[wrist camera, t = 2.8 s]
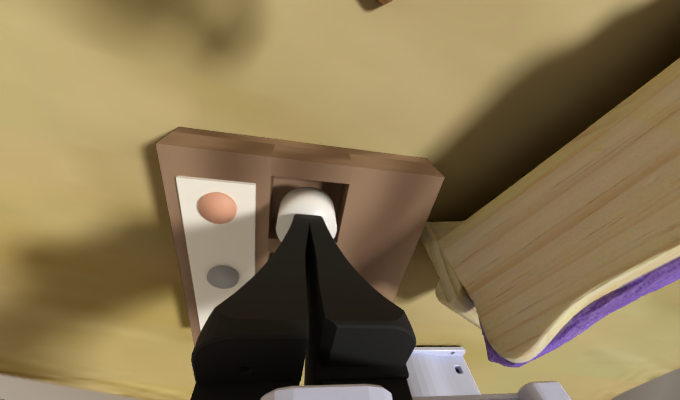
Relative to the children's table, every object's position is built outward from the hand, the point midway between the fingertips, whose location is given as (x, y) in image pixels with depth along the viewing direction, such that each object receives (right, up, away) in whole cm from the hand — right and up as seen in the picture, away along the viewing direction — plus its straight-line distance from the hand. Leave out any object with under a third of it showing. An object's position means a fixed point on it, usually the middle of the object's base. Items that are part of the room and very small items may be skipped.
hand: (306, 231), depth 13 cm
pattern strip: (-5, -3, +3) cm, 7 cm away
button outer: (0, +1, +2) cm, 2 cm away
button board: (-1, -2, +6) cm, 6 cm away
